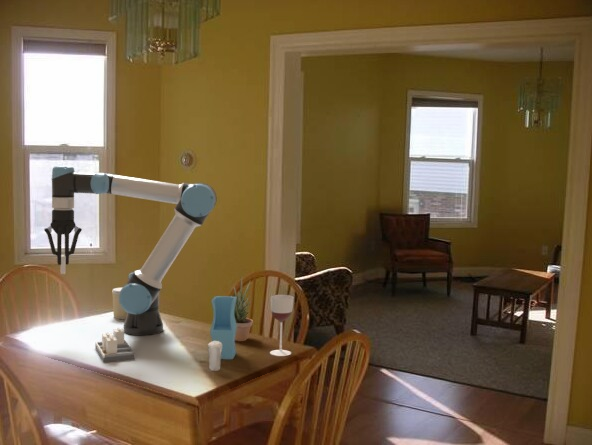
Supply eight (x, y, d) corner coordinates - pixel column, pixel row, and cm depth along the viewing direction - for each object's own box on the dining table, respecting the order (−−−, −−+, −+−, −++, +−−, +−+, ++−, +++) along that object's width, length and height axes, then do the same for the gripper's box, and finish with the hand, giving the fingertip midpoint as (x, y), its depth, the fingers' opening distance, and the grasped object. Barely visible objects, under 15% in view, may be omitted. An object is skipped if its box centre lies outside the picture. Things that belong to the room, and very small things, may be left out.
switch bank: (124, 345, 223) (124, 339, 222) (134, 359, 208) (134, 352, 207) (95, 348, 218) (95, 342, 218) (103, 362, 203) (103, 355, 203)
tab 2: (114, 351, 210) (115, 335, 209) (117, 354, 206) (117, 338, 206) (105, 352, 208) (105, 336, 208) (107, 355, 205) (107, 339, 204)
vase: (209, 358, 211) (211, 300, 209) (213, 351, 219) (215, 295, 217) (232, 359, 211) (234, 301, 209) (236, 352, 218) (237, 296, 217)
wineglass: (295, 350, 223) (296, 295, 221) (286, 357, 215) (288, 300, 213) (274, 348, 225) (275, 293, 224) (265, 354, 217) (267, 298, 216)
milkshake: (205, 367, 202) (206, 336, 201) (222, 367, 202) (222, 337, 201) (204, 371, 197) (205, 340, 196) (221, 371, 198) (222, 340, 197)
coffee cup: (139, 317, 266) (139, 289, 265) (120, 320, 258) (120, 292, 258) (125, 313, 272) (126, 286, 271) (107, 316, 264) (107, 289, 263)
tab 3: (122, 341, 221) (122, 327, 220) (124, 344, 217) (124, 329, 217) (113, 342, 219) (113, 328, 219) (115, 345, 216) (115, 330, 216)
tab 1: (111, 347, 214) (111, 332, 214) (113, 350, 211) (113, 334, 210) (102, 347, 213) (102, 332, 212) (103, 351, 209) (104, 335, 209)
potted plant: (257, 340, 235) (258, 275, 233) (235, 343, 230) (237, 277, 228) (243, 334, 243) (244, 271, 241) (221, 337, 238) (223, 273, 236)
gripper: (80, 208, 231) (80, 271, 233) (42, 208, 225) (43, 272, 227) (83, 209, 225) (83, 274, 226) (44, 209, 219) (44, 276, 221)
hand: (63, 273), depth 227 cm, fingers closed
